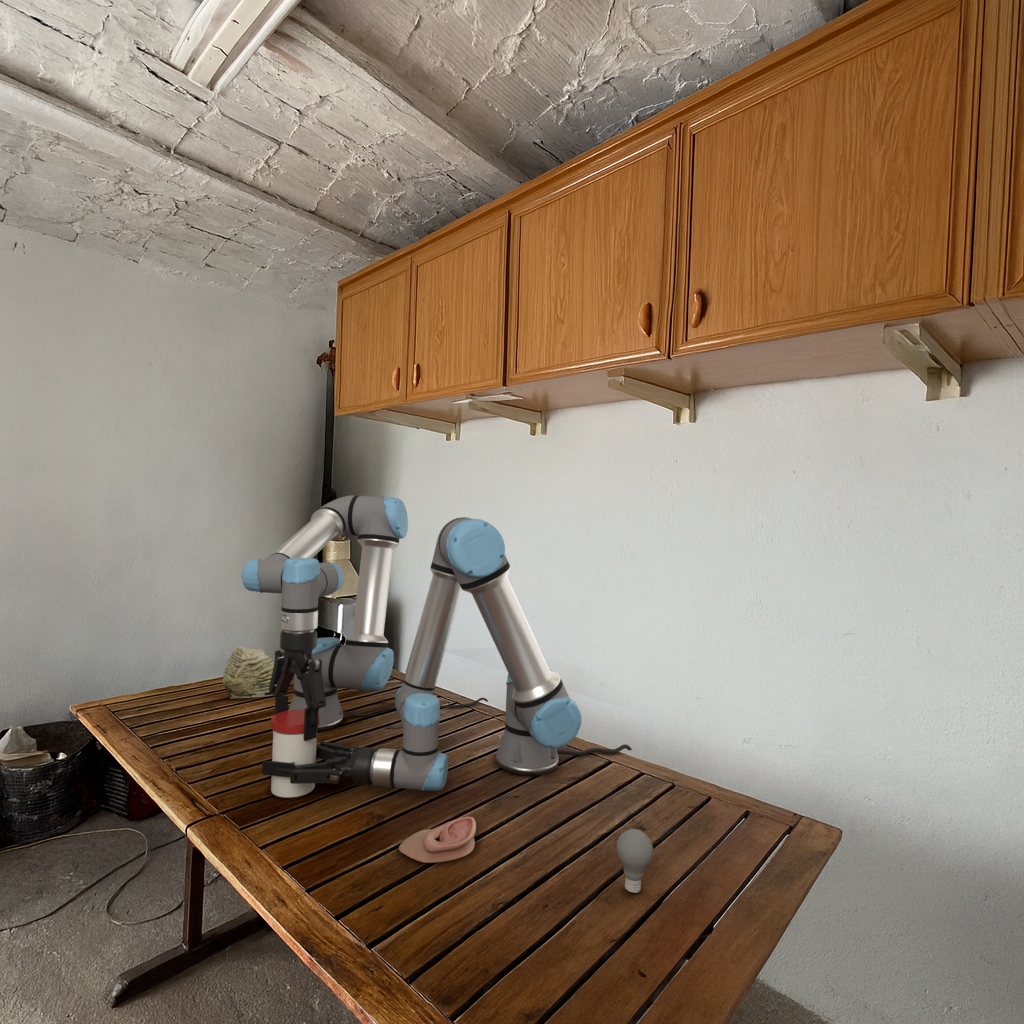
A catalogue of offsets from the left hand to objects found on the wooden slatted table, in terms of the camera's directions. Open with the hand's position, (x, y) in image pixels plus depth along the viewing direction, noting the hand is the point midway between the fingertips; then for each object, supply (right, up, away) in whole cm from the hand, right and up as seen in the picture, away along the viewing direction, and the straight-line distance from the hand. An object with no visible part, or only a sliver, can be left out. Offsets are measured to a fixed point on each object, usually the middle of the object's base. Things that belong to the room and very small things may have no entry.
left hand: (295, 732), depth 137 cm
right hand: (-5, -6, +1) cm, 8 cm away
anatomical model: (+33, -14, -21) cm, 42 cm away
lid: (0, +3, 0) cm, 3 cm away
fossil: (-34, -9, +61) cm, 70 cm away
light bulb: (+67, -16, -31) cm, 76 cm away
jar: (-1, -12, 0) cm, 12 cm away
